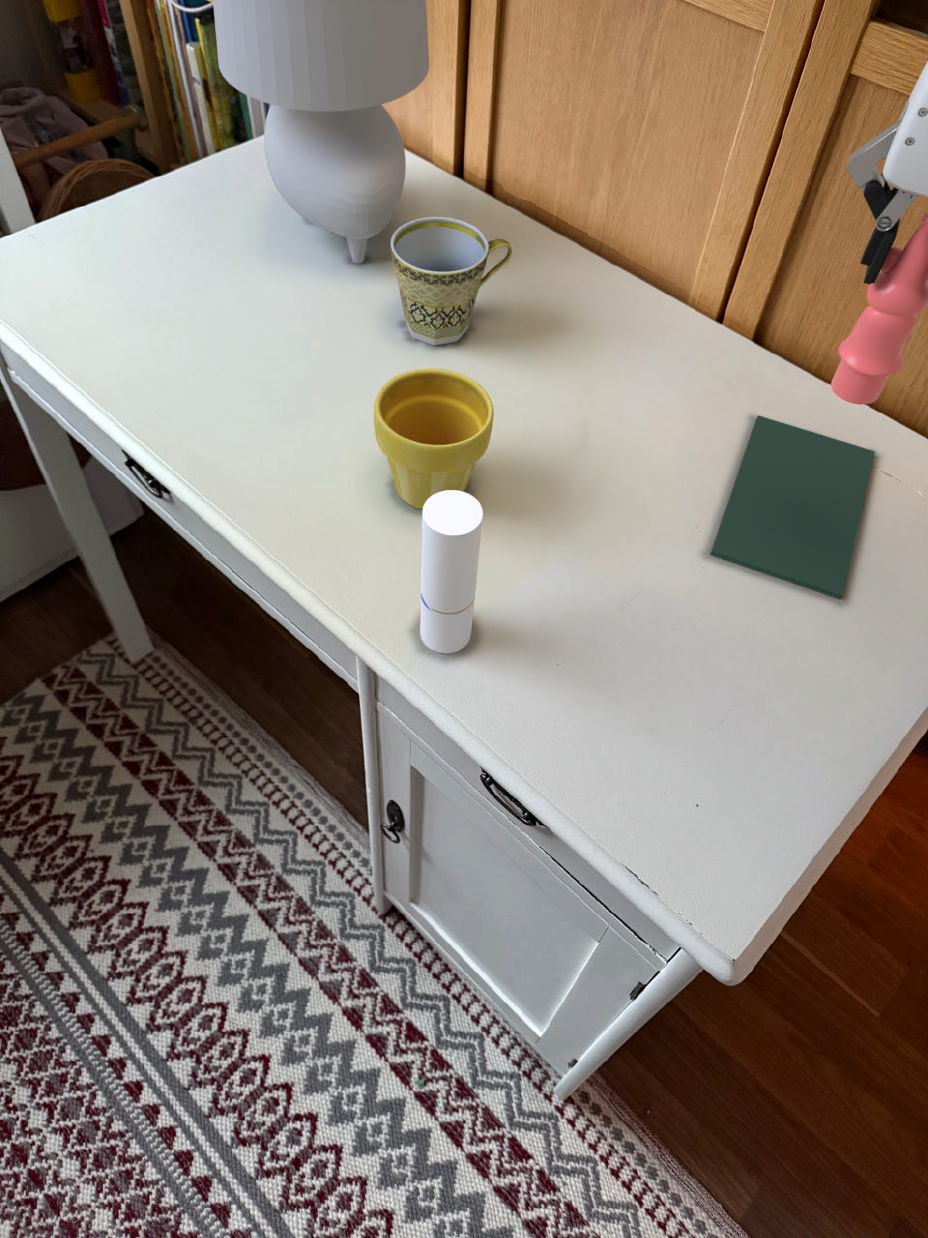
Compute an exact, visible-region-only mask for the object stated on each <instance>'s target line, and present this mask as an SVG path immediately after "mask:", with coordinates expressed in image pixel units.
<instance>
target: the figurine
mask: <svg viewBox="0 0 928 1238" xmlns="http://www.w3.org/2000/svg"><path fill="white" fill-rule="evenodd" d="M921 221H922V223H921V224H920V225H919V226H918V227H917V228H916V229H915V231H914V232H913V234H912V235H911V236H910V238H909V239H908V241H907V242H906V244H905V246H904V247H903V249H902V248H900V247H898V246H892V247H891V249H890V251H889V254H888V256H887V258H886V260H885V262H884V264H883V266H882V268H881V270H880V272H879V275H878V277H877V279H876V281H875V283H874V284H873V283H871V285H869V284H867V285H868V286H867V287H866V288H867V289H866V300H867V302H868V304H869V305H867V306H866V308H865V309H864V310H863V311H862V313H861V314H860V316H859V317H858V319H857V321H856V322H855V324H854V325H853V328H852V330H851V332H850V334H849V336H847V337H845V338H844V339H843V340H842V341H841V343H840V344H839V346H838V356H839V357H840V361H839V364H838V366H837V368H836V370H835V372H834V375H833V378H832V380H831V383H830V387H831V389H832V392H833V393H834V394H835V395H836V396H837V397H838V398H839V399H841V400H843V401H845V402H847V403H850V404H853V405H870V404H872V403H874V402H876V401H877V400H878V399H879V397H880V396H881V393H882V391H883V390H884V388H885V386H886V383H887V382H888V379H889V377H890V376H892V375H894V374H896V373H897V372H899V371H900V370H901V368H902V367H903V364H904V356H903V352H904V351H903V350H904V347H905V345H906V343H907V341H908V339H909V338H910V336H911V335H912V333H913V331H914V329H915V326H916V320H917V319H916V316H918V315H919V314H921V313H922V312H923V311H924V310H925V308H926V307H927V306H928V284H927V281H928V212H927V213H925V214H924V215H923V216H922V218H921Z"/></svg>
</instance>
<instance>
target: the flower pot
mask: <svg viewBox="0 0 928 1238" xmlns="http://www.w3.org/2000/svg"><path fill="white" fill-rule="evenodd" d="M494 415H495V411H494V405H493V401H492V399H491V397H490V396H489V394H488V392H487V391H486V390H485V389H484V387H482V386H481V385H480V384H479V383H478V382H476V381H475V380H474V379H472V378H470V377H468V376H466V375H465V374H462V373H459V372H457V371H453V370H449V369H445V368H435V367H433V368H432V367H431V368H428V367H427V368H417V369H412V370H408V371H405V372H403V373H400V374H398V375H396V376H394V377H392V378H390V379H389V380H388V381H386V382H385V383H384V384H383V385H382V386H381V387H380V389H379V390H378V392H377V394H376V396H375V400H374V405H373V425H374V434H375V436H374V437H375V441H376V443H377V445H378V447H379V449H380V450H381V453H383V455H385V456H386V458H387V462H388V465H389V469H390V473H391V476H392V480H393V484H394V487H395V490H396V493H397V494H398V496H399V497H400V499H402V500H403V501H404V502H405V503H407V504H408V505H410V506H411V507H414V508H416V509H419V510H423V506H424V504H425V502H426V501H427V499H429V498H430V497H431V496H432V495H434V494H436V493H438V492H441V491H446V490H457V491H462V492H465V491H466V488H467V486H468V483H469V482H470V479H471V477H472V474H473V471H474V468H475V465H476V463H477V462H478V461H480V459H481V458H482V457H483V456H484V455H485V453H486V452H487V450H488V447H489V445H490V441H491V436H492V431H493V423H494Z"/></svg>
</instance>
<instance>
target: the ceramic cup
mask: <svg viewBox="0 0 928 1238" xmlns="http://www.w3.org/2000/svg"><path fill="white" fill-rule="evenodd" d="M389 246H390V254H391V260H392V264H393V270H394V274H395V276H396V280H397V284H398V290H399V294H400V298H401V305H402V309H403V316H404V319H405V324H406V327H407V329H408V331H409V333H410V335H411V337H412V339H415V340H417V341H419V342H423V343H425V344H428V345H431V346H434V347H435V346H440V345H441V346H442V345H447V344H453V343H457V342H458V341H459V340H460V339H461V338H462V337H463V335H464V334H465V333H466V332H467V331H468V328H469V326H470V323H471V319H472V314H473V310H474V307H475V303H476V299H477V297H478V292H479V289H480V288H481V287H482V286H483V285H484V284H486V283H487V282H488V280H490V278H491V277H492V276H493V275H495V274H496V272H498V271H499V270H500V269H502V268H503V267H504V266H505V265H506V264H507V263H508V262H509V261H510V259H511V257H512V254H513V248H512V246H511V243H510V242H508V240H506V239H503V238H494V239H492V240H491V239H490V240H488V238H487V237H486V235H485V233H483V231H481V230H480V229H479V228H477V226H475V225H472V224H471V223H469V222H466V221H464V220H461V219H458V218H453V217H446V216H426V217H420V218H417V219H413V220H410V221H408V222H406V223H404V224H402V225H401V226H399V227H398V228H397V229H396V230H395V231H394V233H393V234H392V235H391V238H390V245H389ZM503 247H505V248H507V253H506V255H505V256H504V258H503V259H502V260H500V261H499V262H498V263H497V264H496V265H494V266H493V267H492V268H491V269H489V271H488V272H486V274H485V275H484V273H485V269H486V266H487V260H488V257H489V256H490V254H491V253H493V252H494V251H496V250H498V249H501V248H503Z"/></svg>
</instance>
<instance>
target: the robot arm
mask: <svg viewBox="0 0 928 1238" xmlns="http://www.w3.org/2000/svg"><path fill="white" fill-rule="evenodd" d="M884 159H885V163H884V166H883V169H882V170H883V171H882V173H881V172H880V171H879V168H878V167H877V164H879V163H880V162H881V161H883V160H884ZM845 169H846V171H847V173H848V174H849V176H850V177H851V179H852V180H853V182H854V183H855V185H856V186H857V187H858V189H860V190H861V191H862V193H863V198H864V200H865V202H866V204H867V207H868V208H869V210H870V212H871V214H872V216H873V218H874V220H875V223H874V224H875V225H874V226H875V227H874V229H873V230H872V233H871V235H870V237H869V240H868V242H867V244H866V246H865V249H864V251H863V253H862V256H861V259H860V261H859V264H860V265H863V266H867V268H866V271H865V276H864V279H863V284H867V285H871V283H873V284H874V283H875V281H876V279H877V277H878V275H879V273H881V268H882V266H883V264H884V262H885V260H886V258H887V256H888V254H889V251H890V249H891V248H892V247H893V245H894V244H895V240H896V239H897V236H898V232H899V227H900V223H901V217H903V215H904V213H906V211H908V209H909V208H910V206H911V205H912V204H913V203H914V201H915V200H916V199H917V198H918V196H921V197H924V198H928V60H927V61H926V62H925V65H924V68H923V69H922V72H921V73H920V75H919V78H918V79H917V81H916V83H915V84H914V87H913V89H912V91H911V93H910V96H909V97H908V99H907V102H906V104H905V106H904V108H903V110H902V112H901V115H900V117H899V119H898V120H897V121H896V122H895V123H894V124H892V125H890V126H889V127H887V128H885V130H883V131H882V132H880V133H879V134H878V135H876V136H875V137H874V138H872V139H870V140H868V142H866V143H864V145H862V146H860V147H859V148H857V149H856V150H855V151H853V152H852V153H851V154H850V155H849V157H848V160H847V163H846V168H845ZM890 186H892V187H890Z"/></svg>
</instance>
